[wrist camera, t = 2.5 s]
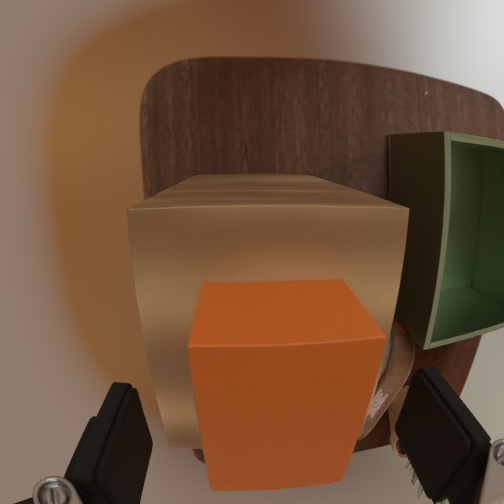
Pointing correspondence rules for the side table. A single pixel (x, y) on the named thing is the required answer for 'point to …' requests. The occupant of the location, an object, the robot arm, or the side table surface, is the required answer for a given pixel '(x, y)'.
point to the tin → (391, 373)
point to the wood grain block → (252, 261)
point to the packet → (281, 380)
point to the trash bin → (449, 234)
